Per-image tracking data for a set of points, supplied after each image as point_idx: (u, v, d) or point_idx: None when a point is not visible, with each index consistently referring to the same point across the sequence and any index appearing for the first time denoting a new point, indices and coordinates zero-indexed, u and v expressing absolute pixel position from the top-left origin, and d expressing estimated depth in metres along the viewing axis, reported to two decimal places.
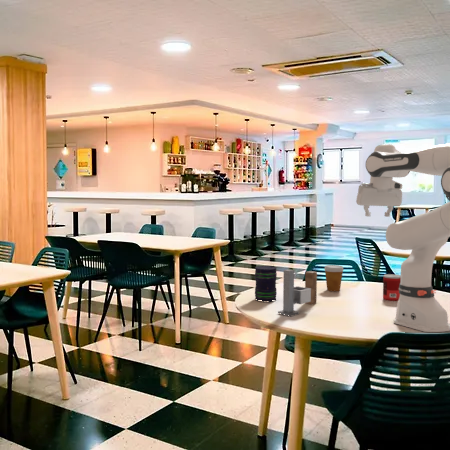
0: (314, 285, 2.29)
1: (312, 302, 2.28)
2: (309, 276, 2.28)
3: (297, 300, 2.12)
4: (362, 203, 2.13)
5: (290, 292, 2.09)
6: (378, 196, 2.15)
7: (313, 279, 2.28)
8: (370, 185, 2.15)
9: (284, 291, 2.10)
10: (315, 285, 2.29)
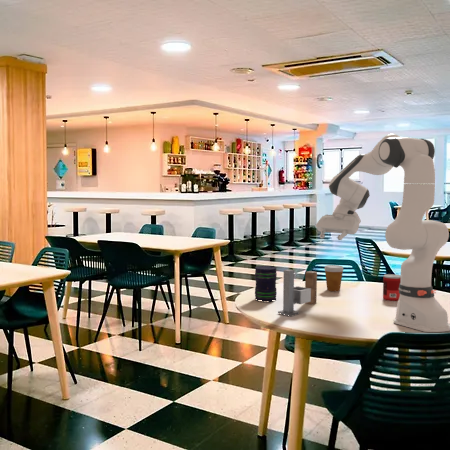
0: (314, 285, 2.29)
1: (312, 302, 2.28)
2: (309, 276, 2.28)
3: (297, 300, 2.12)
4: (317, 225, 2.43)
5: (290, 292, 2.09)
6: (333, 221, 2.39)
7: (313, 279, 2.28)
8: (331, 215, 2.44)
9: (284, 291, 2.10)
10: (315, 285, 2.29)
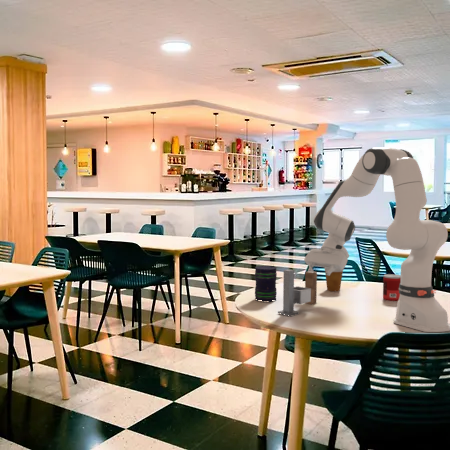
0: (314, 285, 2.29)
1: (312, 302, 2.28)
2: (309, 276, 2.28)
3: (297, 300, 2.12)
4: (305, 259, 2.41)
5: (290, 292, 2.09)
6: (321, 255, 2.38)
7: (313, 279, 2.28)
8: (320, 249, 2.43)
9: (284, 291, 2.10)
10: (315, 285, 2.29)
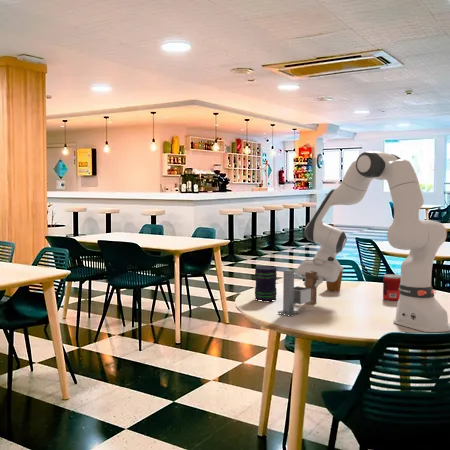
0: None
1: (312, 302, 2.28)
2: (309, 276, 2.28)
3: (297, 300, 2.12)
4: (297, 271, 2.37)
5: (290, 292, 2.09)
6: (313, 267, 2.33)
7: (313, 279, 2.28)
8: (312, 261, 2.39)
9: (284, 291, 2.10)
10: None
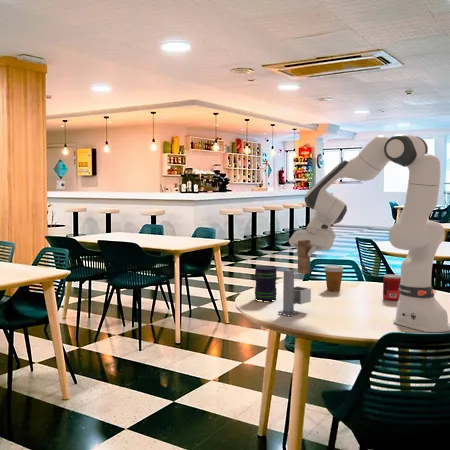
0: None
1: (305, 272, 2.18)
2: (301, 244, 2.17)
3: (297, 300, 2.12)
4: (289, 240, 2.27)
5: (290, 292, 2.09)
6: (306, 236, 2.23)
7: (306, 248, 2.17)
8: (305, 230, 2.28)
9: (284, 291, 2.10)
10: None
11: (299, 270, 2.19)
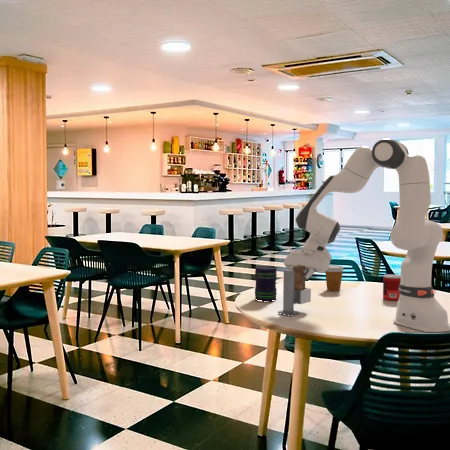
0: (302, 280, 2.14)
1: None
2: (297, 270, 2.13)
3: (297, 300, 2.12)
4: (284, 261, 2.22)
5: (290, 292, 2.09)
6: (302, 258, 2.19)
7: (301, 273, 2.13)
8: (300, 251, 2.24)
9: (284, 291, 2.10)
10: (303, 280, 2.14)
11: None
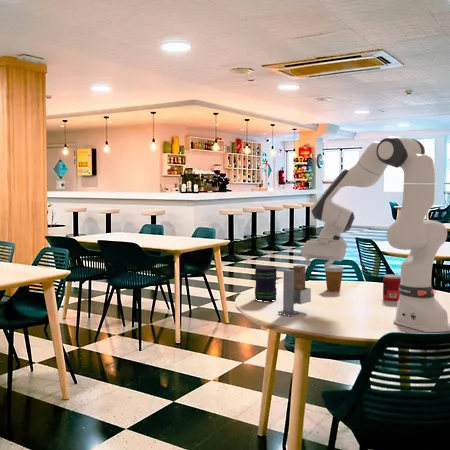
0: (302, 280, 2.14)
1: None
2: (297, 270, 2.13)
3: (297, 300, 2.12)
4: (301, 251, 2.31)
5: (290, 292, 2.09)
6: (318, 247, 2.27)
7: (301, 273, 2.13)
8: (316, 240, 2.32)
9: (284, 291, 2.10)
10: (303, 280, 2.14)
11: None
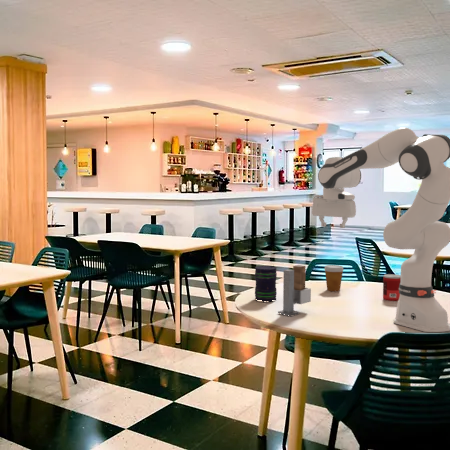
0: (302, 280, 2.14)
1: None
2: (297, 270, 2.13)
3: (297, 300, 2.12)
4: (313, 213, 2.29)
5: (290, 292, 2.09)
6: (327, 207, 2.24)
7: (301, 273, 2.13)
8: (322, 197, 2.27)
9: (284, 291, 2.10)
10: (303, 280, 2.14)
11: None
